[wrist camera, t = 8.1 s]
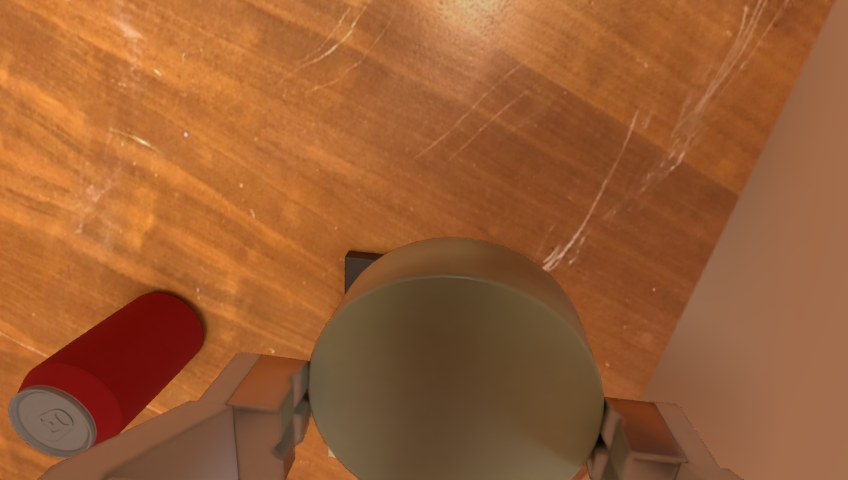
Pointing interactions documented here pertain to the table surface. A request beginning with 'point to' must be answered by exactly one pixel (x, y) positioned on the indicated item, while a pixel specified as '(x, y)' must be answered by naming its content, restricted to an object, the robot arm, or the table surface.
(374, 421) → the disc
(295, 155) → the table surface
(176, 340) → the beverage can
